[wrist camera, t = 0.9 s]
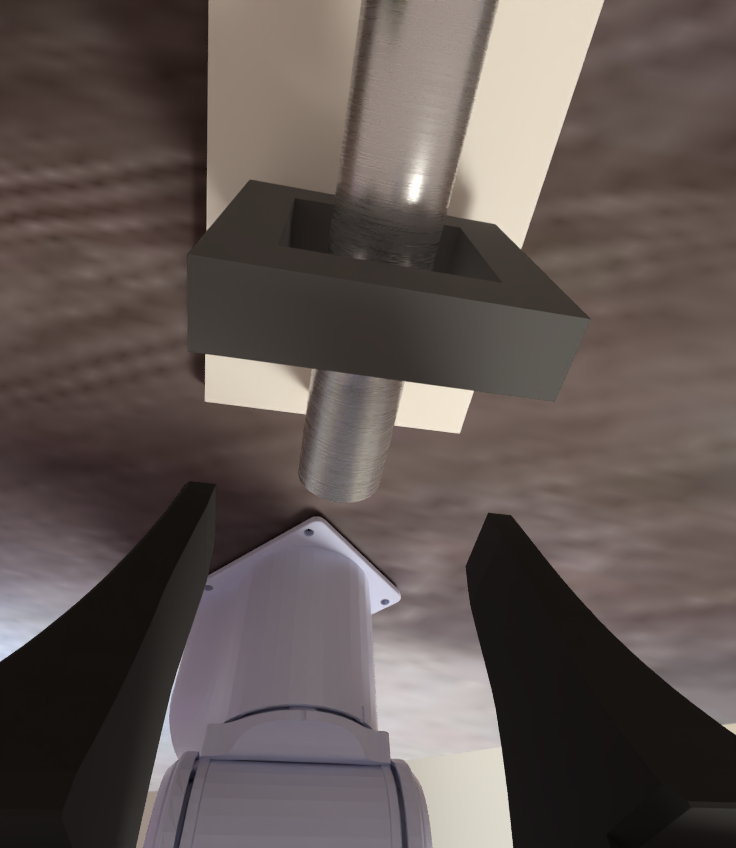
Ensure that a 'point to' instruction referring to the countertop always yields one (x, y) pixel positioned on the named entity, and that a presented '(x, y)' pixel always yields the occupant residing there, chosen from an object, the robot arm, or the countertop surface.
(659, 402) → the countertop surface
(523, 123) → the base board
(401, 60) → the pipe
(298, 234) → the collar
